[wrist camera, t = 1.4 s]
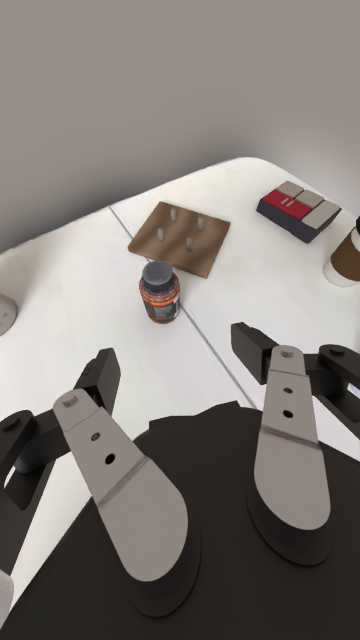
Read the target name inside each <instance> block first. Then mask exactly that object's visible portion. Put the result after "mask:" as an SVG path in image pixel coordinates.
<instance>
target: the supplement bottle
mask: <svg viewBox="0 0 360 640" xmlns="http://www.w3.org/2000/svg"><path fill="white" fill-rule="evenodd" d="M142 275H143V276H142V277H141V280H140V283H139V289H140V293H141V296H142V299H143V302H144V305H145V307H146V310H147V313H148V315H149V317H150V318H151V319H152V320H153V321H154V322H156V323H159V324H166V323H170V322H172V321H173V320H174V319H175V318H176V317H177V315H178V313H179V292H180V285H179V280H178V277H177V276H176V275H175V274H174V272H172V268H171V267H170V265H169V264H167V263H166V262H163V261H153V262H150V263H148V264H147V265H146V266H145V267H144V269H143V273H142Z"/></svg>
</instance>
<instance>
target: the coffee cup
mask: <svg viewBox="0 0 360 640" xmlns="http://www.w3.org/2000/svg"><path fill="white" fill-rule="evenodd" d="M323 274H324V276H325V278H326V279H327V280H328V281H329V282H330V283H332V284H333V285H335V286H339V287H349V286H353V285H355V284H357V283H359V282H360V216H359V217H358V219H357V220H356V226H355V227H354V228H353V229H352V230H351V232H350V233H349V234H348V235H347V237H346V238H345V239H344V240H343V242H342V243H341V244H340V245H339V247H338V248H337V249H336V250H335V252H334V253H333V254H332V256H331V258H330V259H329V260H328V262H327V263H326V264H325V266H324V269H323Z"/></svg>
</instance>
